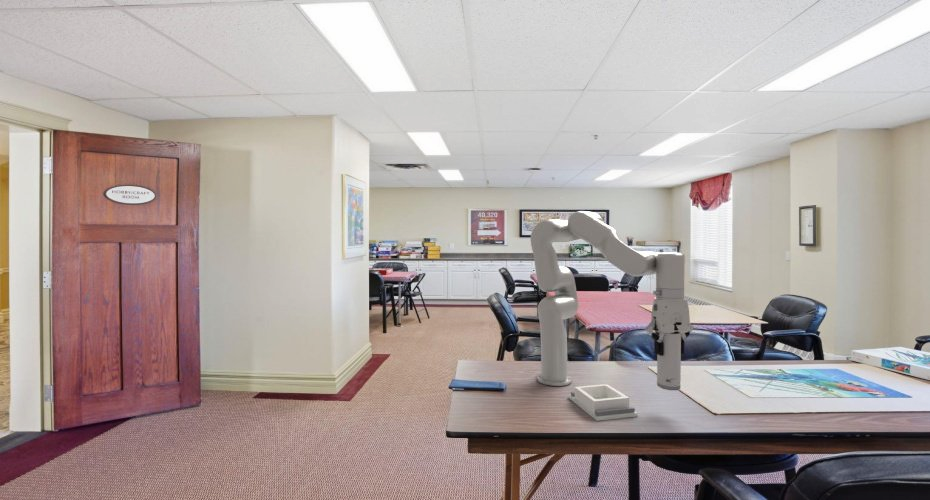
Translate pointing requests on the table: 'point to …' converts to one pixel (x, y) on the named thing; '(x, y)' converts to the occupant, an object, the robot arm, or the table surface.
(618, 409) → the white rectangular tray
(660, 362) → the travel mug
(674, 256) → the robot arm
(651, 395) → the table surface
